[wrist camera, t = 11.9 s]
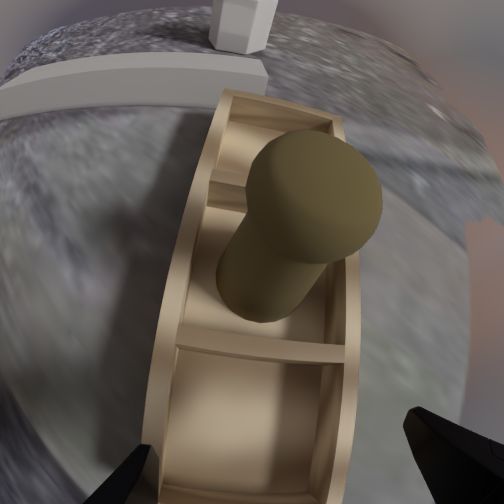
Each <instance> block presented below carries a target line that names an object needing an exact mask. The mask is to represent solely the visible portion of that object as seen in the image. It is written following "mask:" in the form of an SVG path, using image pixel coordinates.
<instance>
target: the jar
mask: <svg viewBox="0 0 504 504" xmlns="http://www.w3.org/2000/svg"><path fill="white" fill-rule="evenodd" d="M277 3H278V0H214V3H213V10H212V16H211V23H210V30H209V37H208V39H209V41H210V42H211V43H212V45H213V46H214V48H215V49H216V50H220V51H226V52H232V53H238V54H243V55H247V54H251V53H254V52H257V51H261V50H264V49H265V47H266V43H267V39H268V35H269V32H270V28H271V25H272V21H273V17H274V14H275V10H276V6H277Z"/></svg>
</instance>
